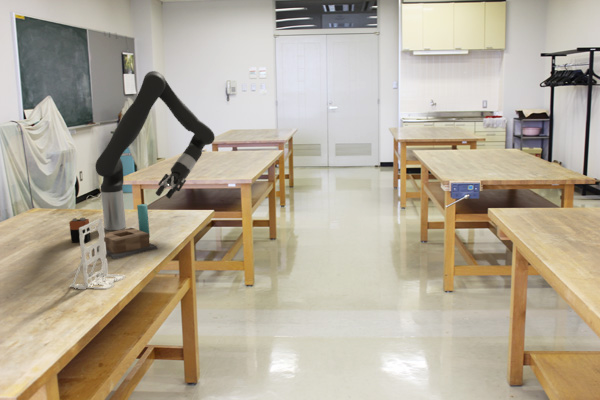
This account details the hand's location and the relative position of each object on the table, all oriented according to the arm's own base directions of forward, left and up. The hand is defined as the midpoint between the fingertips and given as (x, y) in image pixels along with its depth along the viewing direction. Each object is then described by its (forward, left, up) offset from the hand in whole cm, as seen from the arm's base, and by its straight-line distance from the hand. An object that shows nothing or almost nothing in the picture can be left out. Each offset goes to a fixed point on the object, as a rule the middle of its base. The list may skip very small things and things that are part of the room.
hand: (162, 196), depth 250 cm
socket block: (+10, -24, -16) cm, 30 cm away
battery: (-15, -31, -16) cm, 38 cm away
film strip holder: (+39, -48, -17) cm, 64 cm away
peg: (0, -10, -16) cm, 19 cm away
